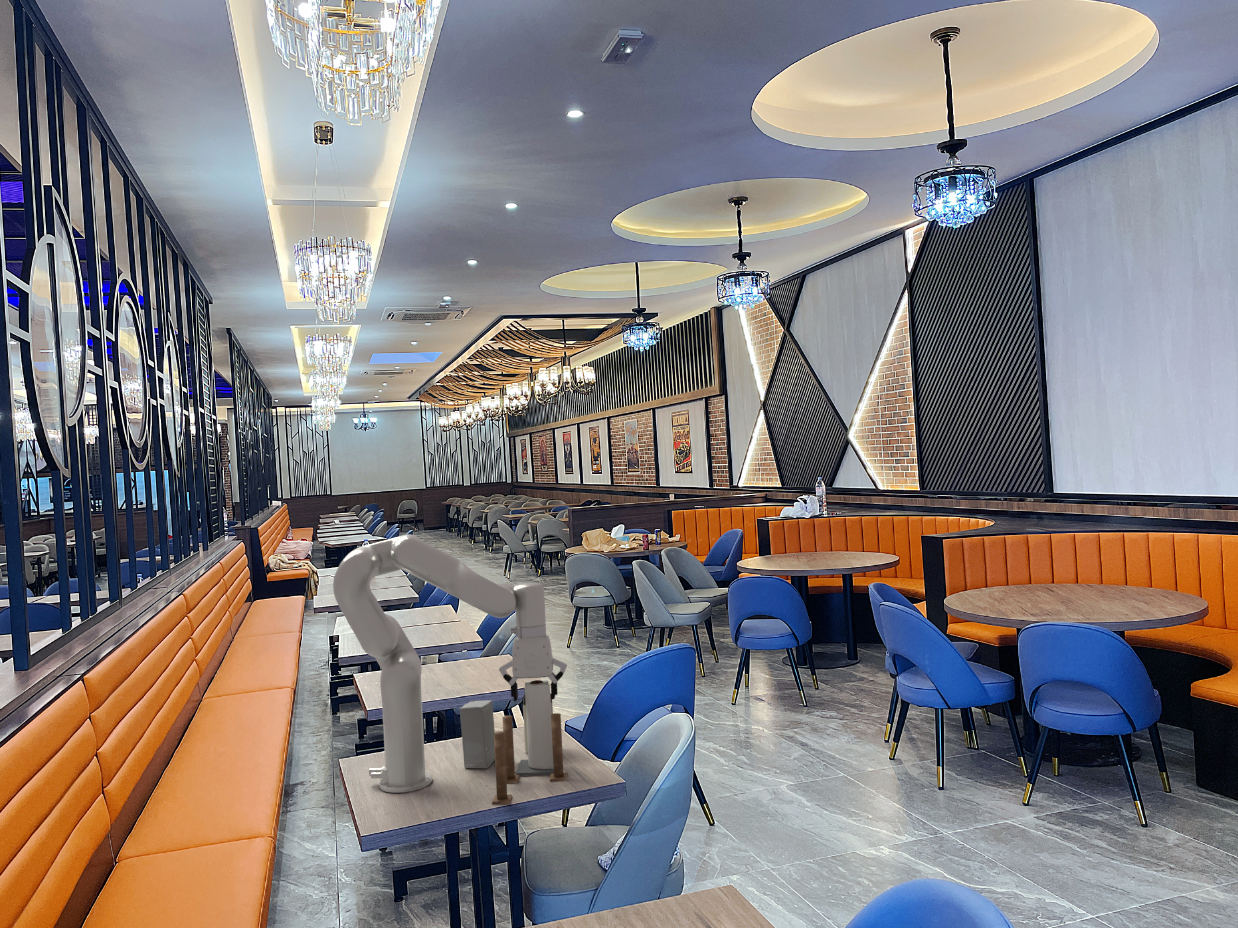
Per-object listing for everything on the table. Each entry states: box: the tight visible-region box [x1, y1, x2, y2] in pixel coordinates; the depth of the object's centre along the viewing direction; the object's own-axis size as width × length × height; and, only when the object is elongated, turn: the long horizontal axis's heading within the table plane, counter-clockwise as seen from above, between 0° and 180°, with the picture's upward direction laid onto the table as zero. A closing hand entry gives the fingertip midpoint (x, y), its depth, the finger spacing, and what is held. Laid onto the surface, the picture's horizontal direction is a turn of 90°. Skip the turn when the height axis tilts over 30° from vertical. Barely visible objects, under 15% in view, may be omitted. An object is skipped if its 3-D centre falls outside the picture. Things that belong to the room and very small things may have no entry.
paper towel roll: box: [524, 679, 554, 769], centre depth 217 cm, size 7×6×21 cm
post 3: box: [549, 712, 569, 782], centre depth 210 cm, size 4×4×16 cm
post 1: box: [491, 730, 513, 805], centre depth 197 cm, size 4×4×16 cm
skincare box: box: [459, 699, 496, 769], centre depth 224 cm, size 8×7×16 cm
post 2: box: [501, 715, 521, 784], centre depth 210 cm, size 4×4×16 cm
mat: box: [515, 759, 554, 777], centre depth 218 cm, size 10×10×1 cm
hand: (534, 698), depth 218 cm, fingers open, 9 cm apart
